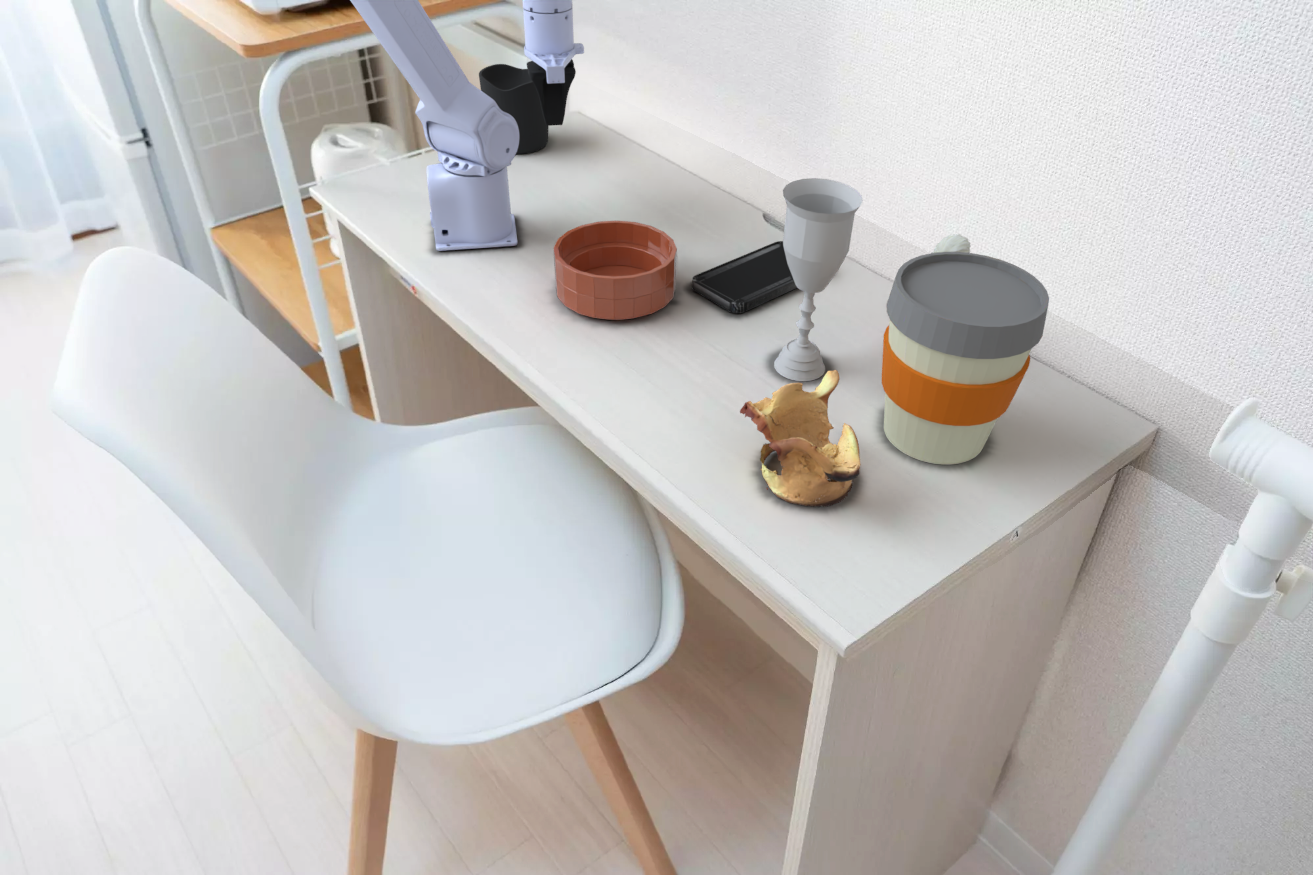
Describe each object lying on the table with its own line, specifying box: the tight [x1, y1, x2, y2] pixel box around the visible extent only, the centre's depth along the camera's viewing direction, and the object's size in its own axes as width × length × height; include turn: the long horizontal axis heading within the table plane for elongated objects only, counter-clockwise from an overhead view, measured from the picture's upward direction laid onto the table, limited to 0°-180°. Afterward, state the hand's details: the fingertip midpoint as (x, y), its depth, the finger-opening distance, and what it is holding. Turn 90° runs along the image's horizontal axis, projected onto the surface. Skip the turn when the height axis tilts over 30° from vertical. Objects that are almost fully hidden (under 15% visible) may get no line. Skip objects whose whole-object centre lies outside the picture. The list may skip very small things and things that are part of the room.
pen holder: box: [478, 63, 550, 155], centre depth 133 cm, size 9×9×10 cm
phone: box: [691, 240, 798, 314], centre depth 105 cm, size 8×1×15 cm
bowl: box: [552, 220, 678, 321], centre depth 101 cm, size 13×13×6 cm
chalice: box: [773, 177, 864, 382], centre depth 87 cm, size 7×7×18 cm
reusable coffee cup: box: [881, 252, 1050, 465], centre depth 80 cm, size 13×13×15 cm
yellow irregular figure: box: [739, 369, 862, 508], centre depth 77 cm, size 12×10×8 cm
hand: (553, 123), depth 117 cm, fingers closed
